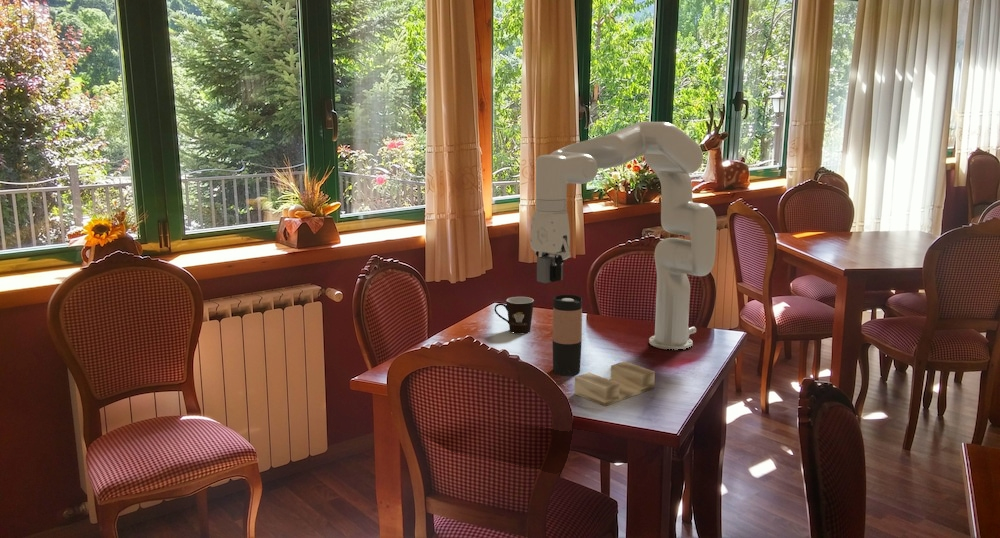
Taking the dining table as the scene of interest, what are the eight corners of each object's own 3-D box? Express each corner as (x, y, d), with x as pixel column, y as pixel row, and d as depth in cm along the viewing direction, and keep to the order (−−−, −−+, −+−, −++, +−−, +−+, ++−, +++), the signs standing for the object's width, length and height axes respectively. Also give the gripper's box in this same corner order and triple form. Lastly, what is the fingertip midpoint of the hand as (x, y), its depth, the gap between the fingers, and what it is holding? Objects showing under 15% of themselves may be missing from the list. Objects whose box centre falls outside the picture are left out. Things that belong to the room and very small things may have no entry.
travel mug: (551, 366, 205) (552, 294, 201) (579, 366, 205) (581, 294, 200) (552, 375, 197) (553, 301, 193) (581, 376, 197) (583, 301, 193)
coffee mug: (538, 329, 238) (539, 299, 236) (524, 336, 231) (524, 305, 229) (507, 324, 244) (507, 294, 242) (492, 330, 237) (492, 300, 235)
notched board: (623, 377, 196) (624, 361, 195) (654, 388, 188) (654, 371, 188) (574, 393, 185) (574, 376, 184) (604, 406, 177) (605, 388, 176)
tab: (554, 277, 191) (554, 254, 190) (562, 279, 189) (563, 256, 187) (536, 281, 187) (536, 257, 186) (544, 283, 185) (545, 259, 184)
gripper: (517, 204, 188) (517, 276, 192) (562, 211, 176) (561, 287, 179) (540, 201, 193) (540, 272, 197) (585, 208, 180) (584, 283, 184)
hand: (550, 278), depth 188 cm, fingers closed on tab, 3 cm apart
